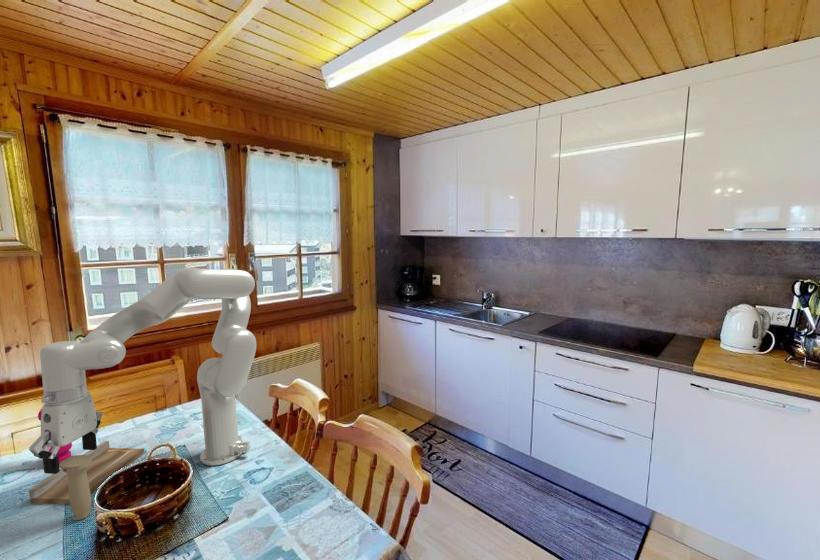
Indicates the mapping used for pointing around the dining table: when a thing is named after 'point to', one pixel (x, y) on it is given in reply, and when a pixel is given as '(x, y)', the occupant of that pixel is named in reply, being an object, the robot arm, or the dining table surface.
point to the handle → (78, 484)
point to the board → (97, 472)
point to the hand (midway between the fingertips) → (72, 460)
